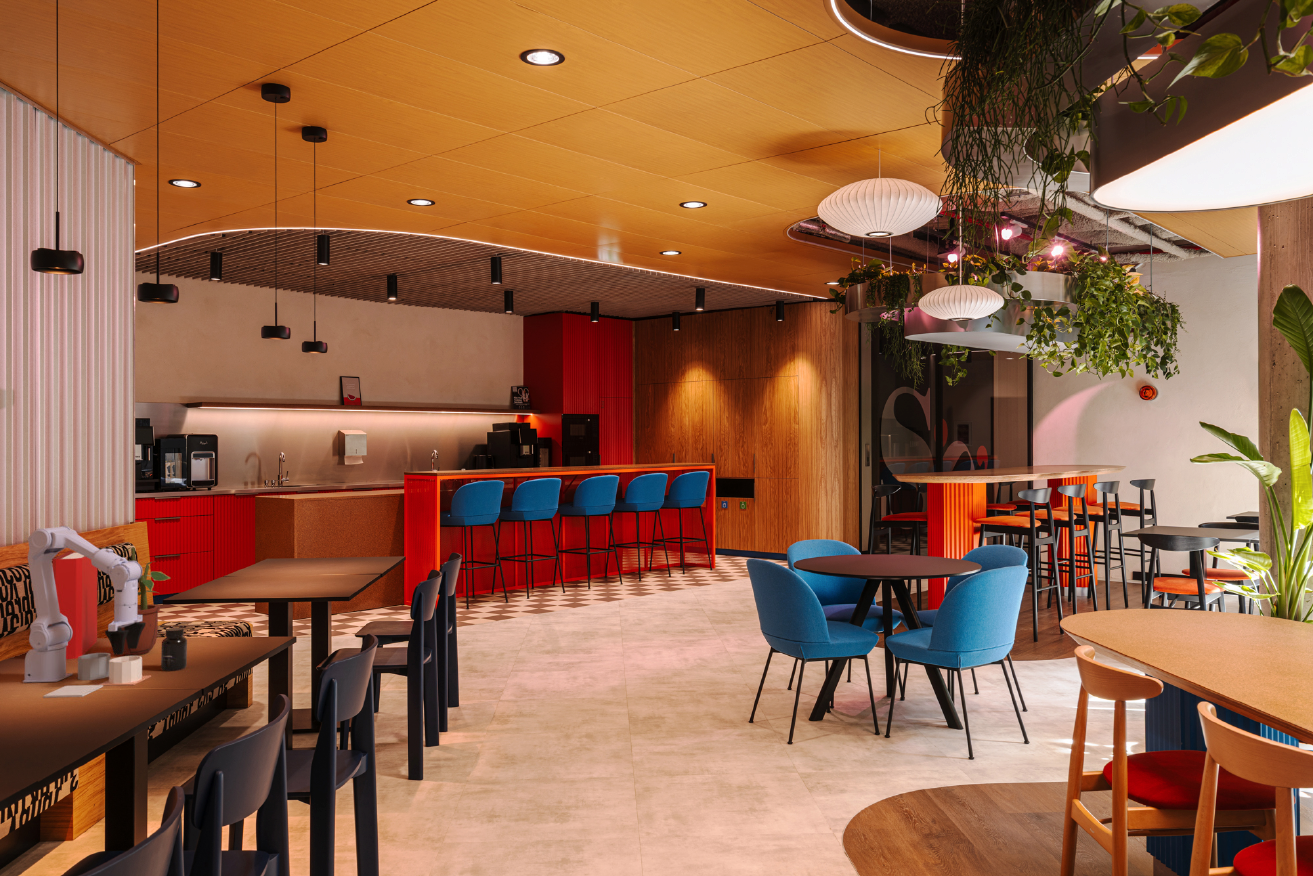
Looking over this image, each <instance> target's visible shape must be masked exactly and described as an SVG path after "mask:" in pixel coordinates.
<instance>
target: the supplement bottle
mask: <svg viewBox="0 0 1313 876" xmlns="http://www.w3.org/2000/svg"><path fill="white" fill-rule="evenodd" d="M184 635H185V631H184V628H182V627H173V628H171V627H169V628H166V629H165V638H163V639H162V640H161V652H160V653H161V655H160V656H161V657H160V659H161V661H160V662H161V663H160V667H161V670H162V671H163V672H164V671H165V672H173V671H174V672H176V671H180V670H184V669H186V667H187V665H188V663H187V662H188V661H187V658H188V639H187V638H186V637H185V636H184Z"/></svg>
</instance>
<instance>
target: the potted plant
mask: <svg viewBox="0 0 1313 876" xmlns="http://www.w3.org/2000/svg"><path fill="white" fill-rule="evenodd" d="M135 548H136V547H134V546H133V547H132V546H131V547H129V548H126V549H125V550H124V551H123V552H122V554H124V553H125V552H127V551H129V550H130V551H131V552H130V554H131V559H130V560H127V561H136V549H135ZM123 557H124V558H125V556H124V555H123V556H122V558H123ZM152 563H156V561H155V560H153V561H150V562H147V563H146V564H145V565H146V566H144V567H142V569H144V572H143V574H142V575H141V577H140V578H139V579H138V584H139V589H140V590H139V591H138V596H140V604H137V615H142V621H141V622H140V623H143V622H144V623H145V627H144V629H143V630H142V633H141V635H140V638H139V642H138V646H137V648H136V649H128V645H127V636H126V639H125V644H124V651H123V654H124V655H125V656H141V655H146V654H147V653H150V651H152V650H153V648H154V647H155V645H156V642H157V638H158V634H159V632H158V631H159V630H158V628H159V627H158V626H159V614H158V613H159V611H160V610H161V605H159V604H149V603H148V595H147V593H158V594H159V592H157V591H154V590H153V588H154V585H155V584H154V582H153V581H152V580H154V581H158V582H159V581H166V580H170V579H171V577H170V576H168V575H166V574H165V573H163V572H162V571H153V570H152V571H151V572H150V573H149V569H150V566H149V565H150V564H152ZM148 573H149V574H150V575H148ZM148 577H151V578H152V579H148ZM146 587H147V588H146ZM147 589H149V590H147ZM113 598H115V592H114V593H113V595H112V597H111V599H113ZM122 629H123V630H125V629H124V627H123V628H122Z"/></svg>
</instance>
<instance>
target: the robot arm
mask: <svg viewBox="0 0 1313 876" xmlns="http://www.w3.org/2000/svg"><path fill="white" fill-rule="evenodd" d="M27 542H28V547H29V548H28V549H29V550H28V553H27V562H28V569H29V574H30V582H31V588H32V594H33V599H34V604H35V613H36V618H35V619H34V621H32V623H31V624H30V626H29V627H30V632H29V633H30V634H29V637H28V638H29V639H28V641H29V644H30V646H31V648H32V649H29V650H28V651H27V653H26V655H25V658H24V680H22V682H23V683H52V682H53V683H57V682H59V681H61V680H63V679H66V678H69V677H70V676H73V672H72V673H67V659H66V646H67V645H68V642H69V641H70V640H71V638H72V635H73V631H72V628H71V626H70V625H69V623H68V619H67V617H65V616H64V615H62V614H61V613H60V610H59V604H58V598H57V592H56V586H55V579H54V573H53V559H54V558H56V557H57V554H59V553H60V552H61V551H64V550H65V549H70V551H72V552H74V553H79V554H81V555H83V556H85V557H87V558H89V559H91V563H92V565H93V566H95V567H96V568H97V570H100V571H101V572H103V573H105V574H106V575H108V576H109V579H110V580H111V583H112V584H113V585H112V586H113V589H114V593H115V595H114V597H113V598H114V603H113V604H114V609H113V614H114V619H113V620H112V622H111V623H109V624H108V625H107V627H108V629H106V630H104V631H105V633H104V634H105V636H106V637H107V638H108V641H109V643H110V646H111V650H112V652H113V655H114V656H119V655H120V656H121V655H123V654H124V653H123V651H124V644H125V639H126V636H127V645H128V649H136V648H137V646H138V642H139V638H140V635H141V633H142V630H143V629H144V627H145V623H144V622H143V623H140V622H141V621H142V615H137V605H138V597H139V595H138V592H139V590H138V587H139V585H138V584H139V578H140V577H141V575H143V567H142V565H141V564H140V563H139V562H138V561H137V560H135V561H132V560H131V561H128V560H127V558H125V556H124V557H123V556H122V557H121V555H119V554H116V553H114V550H113V549H112V548H102V549H100V548H99V547H97V546H95V545H94V544H92V543H91V542H90V541H89V540H86V539H85V538H83V537H82V536H80V535H79V534H78V533H77V530H76V529H75V530H74V529H71V527H69V526H67V525H61V526H55V527H46V528H45V527H44V528H43V527H42V528H41V527H40V528H37V529H35V530H34V531H33V532H32V533H30V535H29V536H28V537H27ZM123 627H124V629H125V630H123V629H122V628H123Z"/></svg>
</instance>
